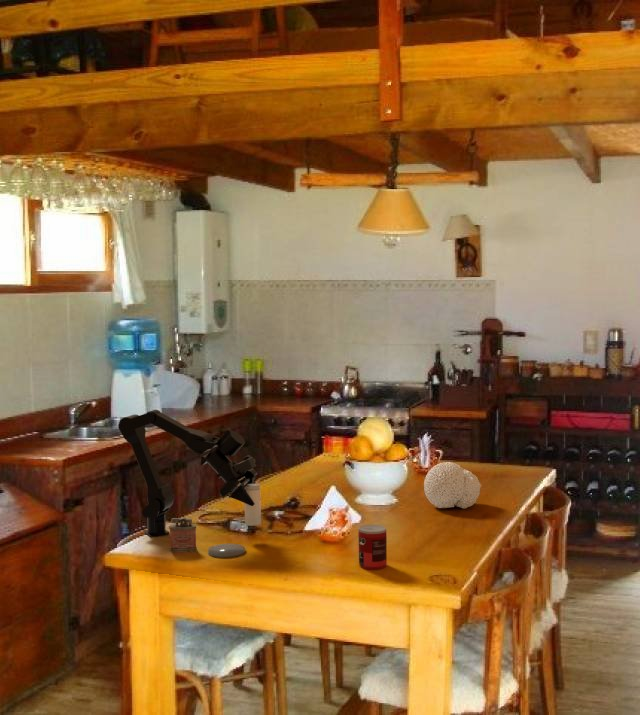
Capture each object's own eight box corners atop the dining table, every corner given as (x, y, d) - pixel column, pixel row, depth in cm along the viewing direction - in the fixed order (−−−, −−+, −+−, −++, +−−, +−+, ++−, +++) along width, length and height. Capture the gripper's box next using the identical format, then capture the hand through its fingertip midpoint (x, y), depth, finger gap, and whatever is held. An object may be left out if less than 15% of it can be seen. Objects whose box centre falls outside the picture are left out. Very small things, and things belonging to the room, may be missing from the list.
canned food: (362, 560, 281) (362, 523, 280) (389, 562, 279) (389, 525, 278) (355, 568, 274) (355, 530, 273) (383, 571, 272) (383, 532, 271)
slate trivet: (202, 550, 294) (202, 547, 293) (235, 544, 299) (235, 541, 299) (217, 560, 284) (217, 556, 284) (251, 553, 290) (251, 550, 290)
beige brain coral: (438, 492, 326) (444, 449, 335) (410, 506, 340) (416, 464, 348) (487, 512, 332) (491, 469, 341) (457, 526, 346) (462, 484, 355)
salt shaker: (242, 523, 303) (241, 485, 302) (256, 520, 306) (255, 482, 305) (249, 526, 299) (248, 488, 298) (264, 524, 301) (263, 486, 300)
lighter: (197, 548, 296) (196, 515, 295) (196, 551, 293) (195, 518, 292) (170, 548, 296) (169, 516, 295) (169, 552, 293) (168, 519, 292)
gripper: (227, 454, 292) (262, 493, 290) (251, 443, 310) (284, 479, 308) (204, 478, 296) (238, 517, 293) (228, 466, 313) (261, 502, 311)
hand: (256, 503), depth 301 cm, fingers closed on salt shaker, 5 cm apart
